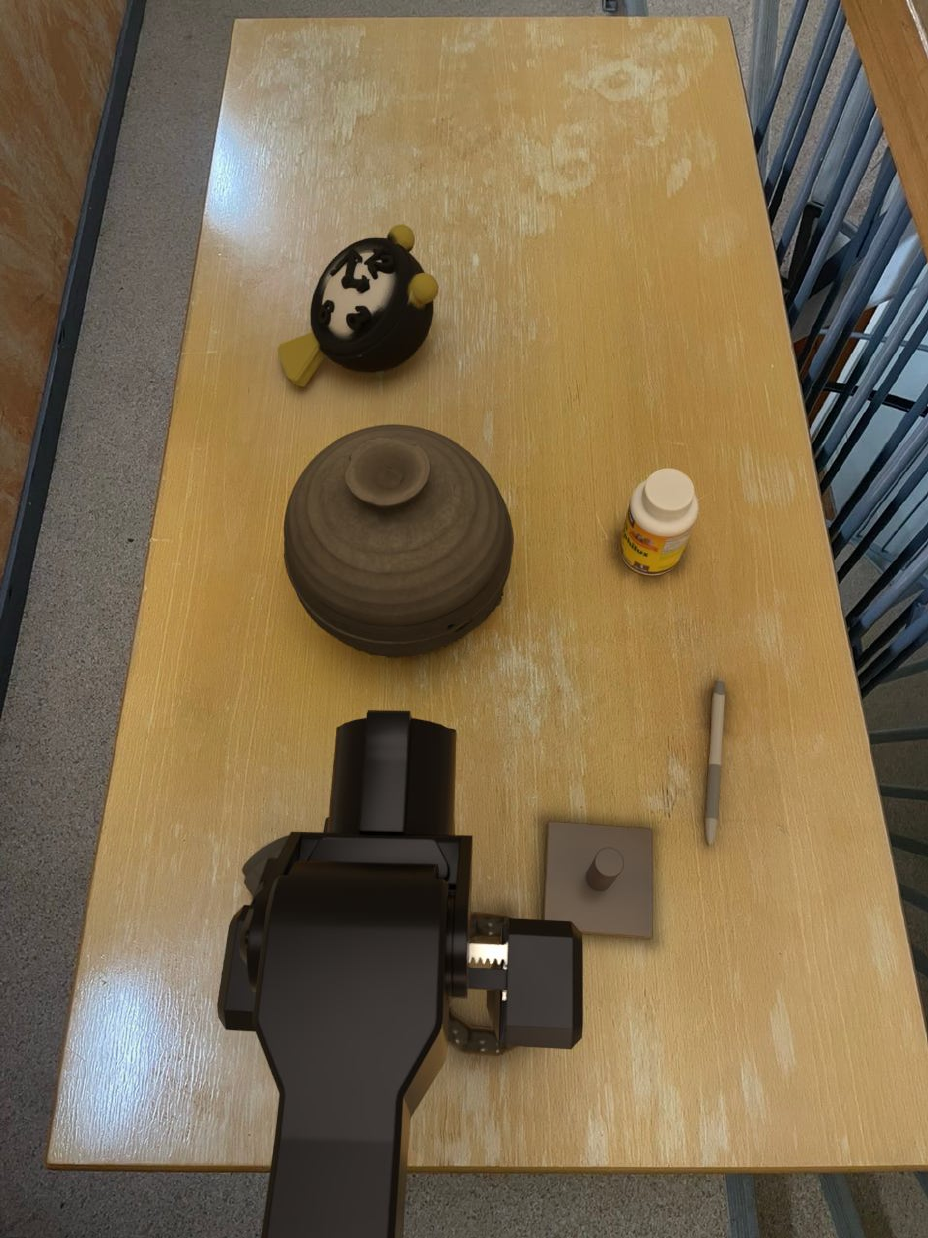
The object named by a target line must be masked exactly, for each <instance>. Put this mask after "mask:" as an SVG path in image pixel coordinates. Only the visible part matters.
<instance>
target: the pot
mask: <svg viewBox="0 0 928 1238" xmlns="http://www.w3.org/2000/svg"><path fill="white" fill-rule="evenodd" d="M283 520H284V521H283V537H284V539H283V558H284V559H283V560H284V567H285V570H286V574H287V576H288V579H289V582H290V585H291V586H292V588H293V589H294V592H295V594H296V597H297V598H298V601H299V602H300V604H301V606H302V608H304V610H305V612H306V614H307V615H308V616H309V617H310V619H311V620H312V621H313V622H314V623H315V624H316V625H317V626H318V627H319V628H321V630H323V631H324V632H326V633H327V634H328V635H329V636H332V637H333V638H334V639H336V640H338V642H340V643H342V644H344V645H345V646H347V647H350V648H352V649H354V650H355V651H357V652H361V653H365V654H367V655H369V656H376V657H384V658H388V659H400V658H414V657H418V656H423V655H427V654H429V653H432V652H435V651H439V650H441V649H442V648H447V647H448V646H451V645H452V644H454V643H457V642H458V641H460V640H461V639H464V637H466V636H467V635H468V634H470V633H471V632H473V631H474V630H475V629H477V628H479V627H480V626H481V625H482V624H484V623H486V621H487V620H488V619H489V618H490V616H491V615H492V614H493V613H494V612H495V611H496V608H497V607H499V606H500V605H501V603H502V601H503V597H504V590H505V589H504V588H505V586H506V583H507V581H508V579H509V575H510V571H511V566H512V560H513V559H512V558H513V555H514V554H513V553H514V544H515V539H514V537H515V536H514V529H513V524H512V519H511V515H510V512H509V509H508V506H507V503H506V501H505V499H504V498H503V496H502V494H501V491H500V489H499V488H498V485H497V483H496V482H495V480H494V478H493V476H492V475H491V474H490V472H488V470H487V469H486V468H485V466H484V465H483V464H482V463H481V462H480V461H479V460H478V459H477V458H476V457H475V456H474V455H473V454H472V453H471V452H470V451H468V450H467V449H466V448H465V447H463V446H462V445H461V444H459V443H458V442H456V441H454V440H452V439H451V438H449V437H447V436H445V435H443V434H441V433H438V432H436V431H434V430H430V429H426V428H424V427H420V426H419V427H418V426H415V425H410V424H409V425H407V424H395V423H394V424H379V425H373V426H369V427H364V428H361V429H357V430H355V431H352V432H350V433H347V434H345V435H343V436H341V437H339V438H337V439H336V440H334V441H332V442H331V443H330V444H328V445H327V446H326V447H324V448H323V449H322V450H320V452H318V453H317V454H316V455H315V456H314V457H313V458H312V459H311V460H310V462H309V463H308V464H307V465H306V467H304V469H303V470H302V472H301V473H300V474H299V476H298V478H297V479H296V482H295V484H294V486H293V487H292V490H291V493H290V495H289V498H288V501H287V505H286V508H285V513H284V519H283Z"/></svg>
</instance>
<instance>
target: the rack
mask: <svg viewBox="0 0 928 1238" xmlns="http://www.w3.org/2000/svg"><path fill="white" fill-rule="evenodd" d="M546 830H547V831H546V850H545V851H546V852H545V853H546V854H545V875H544V876H545V877H544V897H543V899H544V900H543V918H542V920H558V921H572V922H573V924H574V925H575V926H576V927H577V928H578V929H579V931H580V932H581V933H582V934H585V935H596V936H609V937H622V938H633V939H643V940H644V939H645V940H651V939H652V938H654V932H653V931H654V928H653V927H654V925H653V924H654V919H653V918H654V917H653V916H654V914H653V912H654V911H653V910H654V907H653V904H654V903H653V901H654V900H653V899H654V898H653V896H654V895H653V891H654V890H653V887H654V886H653V885H654V884H653V829H652V828H649V827H648V828H647V827H635V826H620V825H610V824H609V825H607V824H593V823H581V822H569V821H555V820H554V821H553V820H548V821H547V828H546Z"/></svg>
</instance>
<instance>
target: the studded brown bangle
mask: <svg viewBox="0 0 928 1238" xmlns="http://www.w3.org/2000/svg"><path fill="white" fill-rule="evenodd" d="M509 918H513V917H512V916H510V915H508V914H504V913H496V912H495V913H493V912H482V911H471V921H470V942H472V941H474V940H476V939H487V940H489V939H490V940H499V941H500V936H501V930H502V925H508V919H509ZM450 1004H451V1003H450ZM450 1004H449V1023H448V1044H449V1045H450V1046H452V1048H454V1049H455V1050H457V1051H458V1052H460V1053H461V1054H463V1055H472V1056H484V1057H495V1058H497V1057H502V1056H504V1055H507V1054H509V1052H512V1051H513V1050H515V1049H517V1048H519V1047H520V1046H505V1044H499V1043H498V1040H497V1037H496V1034H495V1031H494V1028H493V1027H483V1026H472V1025H470V1024H469V1023H468V1022H466V1021H465V1020H464V1019H462V1018H461V1017H460V1016H458V1015H457V1014H456V1013H455V1012H453V1011H454V1010H453V1009H452V1007H451V1005H450Z"/></svg>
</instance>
